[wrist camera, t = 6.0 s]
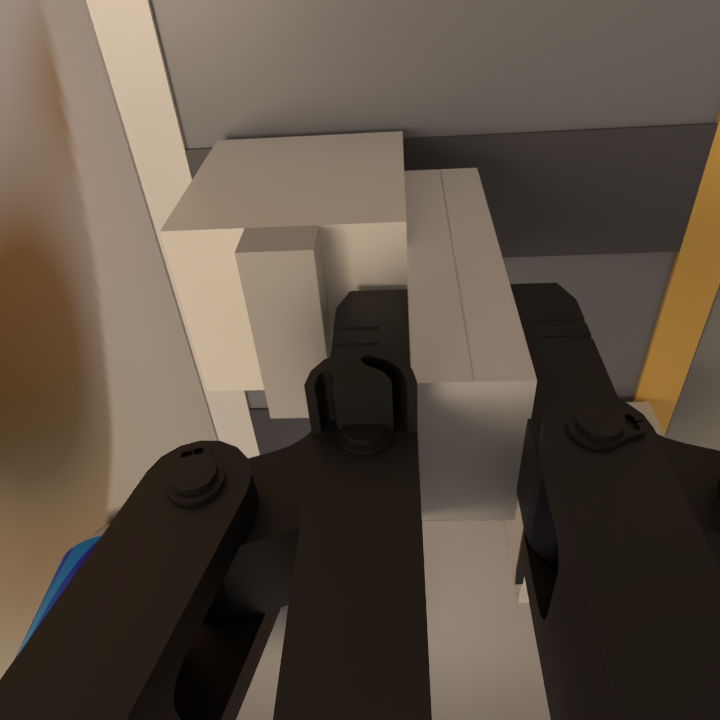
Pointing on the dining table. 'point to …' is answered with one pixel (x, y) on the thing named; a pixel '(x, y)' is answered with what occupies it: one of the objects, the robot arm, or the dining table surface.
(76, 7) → the dining table surface
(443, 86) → the panel
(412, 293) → the robot arm
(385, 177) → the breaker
